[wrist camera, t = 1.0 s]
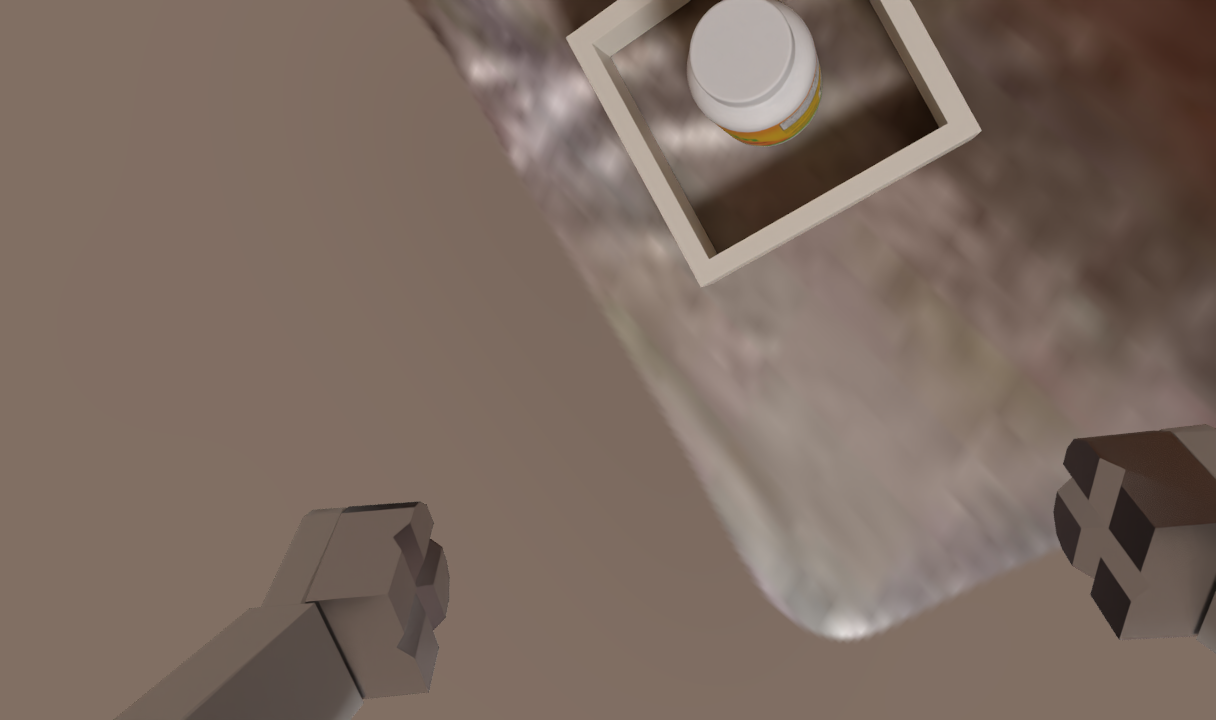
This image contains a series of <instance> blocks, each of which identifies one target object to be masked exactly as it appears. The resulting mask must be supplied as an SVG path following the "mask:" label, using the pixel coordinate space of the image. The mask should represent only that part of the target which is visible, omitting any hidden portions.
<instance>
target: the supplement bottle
mask: <svg viewBox="0 0 1216 720" xmlns="http://www.w3.org/2000/svg"><path fill="white" fill-rule="evenodd" d="M687 79H688V84H689V88H690V91H691V94H692V96H693V98H694V100H695V102H696V104H697V105H698V107H699V108H700V109H701V110H702V112H703V113H704V114H705V115H706V116H707V117H708V118H709V119H710V120H711V121H713V122H714V123H715V124H717V125H718V126H719V127H720V128H722V129H723V130H724V131H725V132H727V133H728V134H729V135H731V136H732V137H733V138H735V139H737V140H739V141H740V142H743V143H745V144H748V145H752V146H759V147H768V146H774V145H778V144H781V143H784V142H786V141H788V140H790V139H792V138H793V137H795V136H796V135H798V134H799V133H800V132H801V131H802V130H803V129H804V128H805V127H806V126H807V125H808V124H809V123H810V121H811V120H812V118H813V117H814V115H815V113H816V111H817V109H818V106H819V103H820V99H821V94H822V74H821V69H820V65H819V61H818V57H817V53H816V49H815V45H814V41H813V38H812V36H811V33H810V31H809V29H808V27H807V26H806V24H805V23H804V21H803V20H802V19H801V17H800V16H799V15H798V14H797V13H796V12H795V11H794V10H792V9H791V8H790V7H788V6H787V5H785V4H783V3H781V2H779V1H776V0H723V1H721V2H719V3H717V4H716V5H714V6H713V7H712V8H711V9H709V10H708V11H707V12H706V13H705V14H704V16H703V17H702V18H701V19H700V21H699V23H698V24H697V26H696V28H695V30H694V33H693V35H692V39H691V43H690V50H689V54H688V60H687Z"/></svg>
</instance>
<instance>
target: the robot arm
mask: <svg viewBox="0 0 1216 720" xmlns="http://www.w3.org/2000/svg"><path fill="white" fill-rule="evenodd" d="M1063 465H1064V466H1065V468H1066V469H1067V471H1068V472H1069V473H1070V475H1071V476H1072V478H1071V479H1070V480H1069V481H1068V482H1067V483H1065V484H1064V485H1063V486H1062V487H1061V488H1060V489H1059V490H1058V491H1057V494H1056V500H1055V505H1054V511H1053V513H1054V521H1055V528H1056V534H1057V537H1058V539H1059V542H1060V545H1061V547H1062V550H1063V551H1064V553H1065V555H1066V556H1067V558H1068V560H1069V561H1070V563H1071V565H1072V566H1073V567H1075V568H1077V569H1078V570H1080V571H1082V572H1084V573H1085V574H1087V575H1089V576H1090V577H1092V578H1094V583H1093V586H1092V590H1091V597H1092V598H1093V599H1094V601H1095V603H1096V604H1097V606H1098V608H1099V609H1100V610H1101V612H1102V614H1103V615H1104V617H1105V619H1106V620H1107V622H1108V623H1109V625H1110V626H1111V628H1112V629H1113V631H1114V632H1115V634H1116V636H1117V637H1118V639H1119V640H1129V639H1149V638H1169V637H1188V636H1189V637H1190V636H1197V639H1196V640H1198V641H1199V642H1200V643H1201V644H1203V645H1204V646H1206V647H1207V648H1209V649H1210V650H1211V651H1213V652H1214V653H1216V428H1213V427H1211V426H1209V425H1206V424H1203V425H1194V426H1185V427H1177V428H1168V429H1161V430H1159V431H1146V432H1136V433H1126V434H1116V435H1107V436H1097V437H1087V438H1078V439H1073V441H1072V442H1071V444H1070V445H1069V446H1068V448H1067V450H1066V454H1065V458H1064V462H1063ZM433 524H434V522H433V519H432V517H431V514H430V512H429V510H428V507H427V504H424V503H422V502H406V503H392V504H378V505H365V506H352V507H351V506H350V507H348V508H333V509H318V510H312V511H310V512H309V513H308V514H307V515H305V516H304V517H303V519H302V521H301V523H300V525H299V527H298V529H297V531H296V533H295V536H294V538H293V540H292V542H291V544H290V546H289V548H288V551H287V553H286V555H285V557H284V559H283V561H282V563H281V565H280V568H279V570H278V572H277V574H276V576H275V578H274V580H273V582H272V585H271V587H270V589H269V591H268V593H267V595H266V597H265V600H264V602H263V604H262V606H261V607H260V608H250V609H248V610H247V611H246V612H245V613H243V614H242V615H241V616H240V617H239V618H237V619H236V620H235V621H234V622H233V623H231V624H230V625H229V626H228V627H227V628H225V629H224V630H223V631H221V632H220V633H219V634H218V635H217V636H215V637H214V638H213V639H212V640H210V641H209V642H208V643H207V644H205V645H204V646H203V647H202V648H201V649H199V650H198V651H197V652H196V653H195V654H194V655H192V656H191V657H190V658H188V659H187V660H186V661H185V662H183V663H182V664H181V665H180V666H179V667H177V668H176V669H175V670H174V671H172V672H171V673H170V674H169V675H168V676H166V677H165V678H164V679H163V680H161V681H160V682H159V683H158V684H157V685H155V686H154V687H153V688H152V689H150V690H149V691H148V692H147V693H145V694H144V695H143V696H142V697H141V698H139V699H138V700H137V701H136V702H134V703H133V704H132V705H131V706H130V707H128V708H127V709H126V710H125V711H124V712H122V713H121V714H120V715H119V716H117V717H116V718H115V719H114V720H350V719H351V718H352V717H353V716H354V714H355V713H356V712H357V711H358V710H359V708H360V707H361V706H362V705H363V703H364V702H363V699H369V698H378V697H388V696H398V695H408V694H417V693H425V692H429V689H430V684H431V680H432V676H433V671H434V667H435V662H436V658H437V654H438V649H439V646H438V643H437V640H436V638H435V635H434V632H433V630H434V629H435V628H436V627H437V626H438V625H439V624H440V623H441V622H442V621H443V620H444V619H445V617H446V612H447V607H448V602H449V578H450V577H449V571H448V565H447V560H446V557H445V554H444V551H443V548H442V547H441V546H440V545H438V544H437V543H436V542H434V541H433V540H432V539H430V536H431V532H432V528H433Z"/></svg>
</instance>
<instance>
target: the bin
mask: <svg viewBox="0 0 1216 720" xmlns="http://www.w3.org/2000/svg"><path fill="white" fill-rule="evenodd" d="M689 1H691V0H617V1H616V2H614V3H613V4H612V5H610V6H609V7H607V8H606V9H605V10H603V11H602V12H601V13H599V14H598V15H596V16H595V17H594V18H592V19H591V20H590V21H588V22H587V23H585V24H584V25H583V26H581V27H580V28H578V29H577V30H576V31H574V32H573V33H572V34H570V35H569V36H567V37H566V39H567V41H568V43H569V45H570V47H571V49H572V50H573V52H574V54H575V56H576V58H577V60H578V61H579V63H580V65H581V67H582V69H583V71H584V73H585V74H586V76H587V78H588V80H589V82H590V84H591V85H592V87H593V89H594V91H595V93H596V95H597V96H598V98H599V100H600V102H601V104H602V106H603V107H604V109H605V111H606V113H607V115H608V117H609V119H610V120H611V122H612V124H613V126H614V128H615V130H616V131H617V133H618V135H619V137H620V139H621V141H622V142H623V144H624V146H625V148H626V150H627V152H628V154H629V155H630V157H631V159H632V161H633V163H634V165H635V166H636V168H637V170H638V172H639V174H640V176H641V177H642V179H643V181H644V183H645V185H646V187H647V189H648V190H649V192H650V194H651V196H652V198H653V200H654V201H655V203H656V205H657V207H658V209H659V211H660V212H661V214H662V216H663V218H664V220H665V222H666V224H667V225H668V227H669V229H670V231H671V233H672V235H673V236H674V238H675V240H676V242H677V244H678V246H679V247H680V249H681V251H682V253H683V255H684V257H685V259H686V260H687V262H688V264H689V266H690V268H691V270H692V271H693V273H694V275H695V277H696V279H697V281H698V282H699V284H700V286H701V287H703V286H707V285H710V284H713V283H714V282H716V281H718V280H720V279H722V278H723V277H725V276H727V275H729V274H731V273H732V272H734V271H736V270H738V269H740V268H741V267H743V266H745V265H747V264H749V263H750V262H752V261H754V260H756V259H758V258H759V257H761V256H763V255H765V254H767V253H768V252H770V251H772V250H774V249H776V248H777V247H779V246H781V245H783V244H785V243H786V242H788V241H790V240H792V239H794V238H795V237H797V236H799V235H801V234H803V233H804V232H806V231H808V230H810V229H812V228H813V227H815V226H817V225H819V224H820V223H822V222H824V221H826V220H828V219H829V218H831V217H833V216H835V215H837V214H838V213H840V212H842V211H844V210H846V209H847V208H849V207H851V206H853V205H855V204H856V203H858V202H860V201H862V200H864V199H865V198H867V197H869V196H871V195H873V194H874V193H876V192H878V191H880V190H882V189H883V188H885V187H887V186H889V185H891V184H892V183H894V182H896V181H898V180H900V179H901V178H903V177H905V176H907V175H909V174H910V173H912V172H914V171H916V170H918V169H919V168H921V167H923V166H925V165H927V164H928V163H930V162H932V161H934V160H936V159H937V158H939V157H941V156H943V155H944V154H946V153H948V152H950V151H952V150H953V149H955V148H957V147H959V146H961V145H962V144H964V143H966V142H968V141H970V140H971V139H973V138H974V137H975V136H976V135H977V134H979V133H980V132H981V131H982V130H981V129H980V127H979V125H978V123H977V121H976V120H975V118H974V116H973V114H972V112H971V111H970V109H969V107H968V105H967V103H966V101H965V100H964V98H963V96H962V94H961V92H960V91H959V89H958V87H957V85H956V83H955V82H954V80H953V78H952V76H951V74H950V72H949V71H948V69H947V67H946V65H945V63H944V62H943V60H942V58H941V56H940V54H939V53H938V51H937V49H936V47H935V45H934V43H933V42H932V40H931V38H930V36H929V34H928V33H927V31H926V29H925V27H924V25H923V24H922V22H921V20H920V18H919V16H918V14H917V13H916V11H915V9H914V7H913V5H912V4H911V2H910V0H869V1H870V3H871V5H872V6H873V8H874V10H875V12H876V14H877V15H878V17H879V19H880V21H881V23H882V24H883V26H884V28H885V30H886V32H887V34H888V35H889V37H890V39H891V41H892V43H893V44H894V46H895V48H896V50H897V52H898V54H899V55H900V57H901V59H902V61H903V63H904V64H905V66H906V68H907V70H908V72H909V74H910V75H911V77H912V79H913V81H914V83H915V84H916V86H917V88H918V90H919V92H920V93H921V95H922V97H923V99H924V101H925V103H926V104H927V106H928V108H929V110H930V112H931V113H932V115H933V117H934V119H935V121H936V123H937V124H938V126H939V129H937V130H935V131H934V132H932V133H930V134H928V135H927V136H925V137H923V138H921V139H920V140H918V141H916V142H914V143H913V144H911V145H909V146H907V147H905V148H904V149H902V150H900V151H898V152H897V153H895V154H893V155H891V156H890V157H888V158H886V159H884V160H883V161H881V162H879V163H877V164H876V165H874V166H872V167H870V168H869V169H867V170H865V171H863V172H862V173H860V174H858V175H856V176H854V177H853V178H851V179H849V180H847V181H846V182H844V183H842V184H840V185H839V186H837V187H835V188H833V189H832V190H830V191H828V192H826V193H825V194H823V195H821V196H819V197H818V198H816V199H814V200H812V201H811V202H809V203H807V204H805V205H804V206H802V207H800V208H798V209H796V210H795V211H793V212H791V213H789V214H788V215H786V216H784V217H782V218H781V219H779V220H777V221H775V222H774V223H772V224H770V225H768V226H767V227H765V228H763V229H761V230H760V231H758V232H756V233H754V234H753V235H751V236H749V237H747V238H746V239H744V240H742V241H740V242H738V243H737V244H735V245H733V246H731V247H730V248H728V249H726V250H724V251H723V252H721V253H719V254H717V252H716V251H715V249H714V247H713V245H712V243H711V241H710V240H709V238H708V236H707V234H706V232H705V230H704V229H703V227H702V225H701V223H700V221H699V219H698V217H697V216H696V214H695V212H694V210H693V208H692V206H691V205H690V203H689V201H688V199H687V197H686V195H685V194H684V192H683V190H682V188H681V186H680V184H679V183H678V181H677V179H676V177H675V175H674V173H673V172H672V170H671V168H670V166H669V164H668V162H667V160H666V159H665V157H664V155H663V153H662V151H661V149H660V148H659V146H658V144H657V142H656V140H655V138H654V137H653V135H652V133H651V131H650V129H649V127H648V126H647V124H646V122H645V120H644V118H643V116H642V114H641V113H640V111H639V109H638V107H637V105H636V103H635V102H634V100H633V98H632V96H631V94H630V92H629V91H628V89H627V87H626V85H625V83H624V81H623V80H622V78H621V76H620V74H619V72H618V70H617V69H616V67H615V65H614V63H613V61H612V59H611V57H610V56H612V55H613V54H615V53H616V52H618V51H619V50H621V49H622V48H623V47H625V46H626V45H628V44H629V43H631V42H632V41H633V40H635V39H636V38H638V37H639V36H641V35H642V34H643V33H645V32H646V31H648V30H649V29H651V28H652V27H653V26H655V25H656V24H658V23H659V22H661V21H662V20H664V19H665V18H666V17H668V16H669V15H671V14H672V13H674V12H675V11H676V10H678V9H679V8H681V7H682V6H684V5H685V4H686V3H688V2H689Z"/></svg>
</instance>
